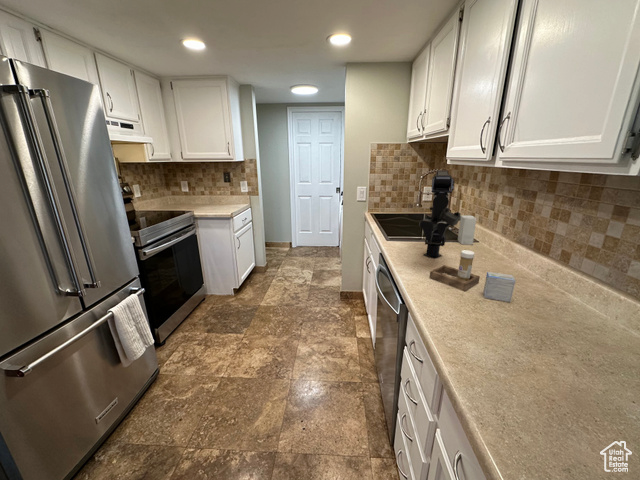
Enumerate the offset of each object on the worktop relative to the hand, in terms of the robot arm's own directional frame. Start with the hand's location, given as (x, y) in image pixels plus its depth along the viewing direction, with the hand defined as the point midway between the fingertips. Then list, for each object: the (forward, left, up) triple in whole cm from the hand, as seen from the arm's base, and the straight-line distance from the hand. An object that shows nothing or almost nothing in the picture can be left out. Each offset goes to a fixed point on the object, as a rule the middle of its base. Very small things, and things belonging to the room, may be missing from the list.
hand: (435, 240), depth 116 cm
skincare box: (-48, -8, -13) cm, 50 cm away
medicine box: (+7, +29, -13) cm, 33 cm away
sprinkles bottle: (+5, +16, -13) cm, 22 cm away
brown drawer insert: (+6, +13, -13) cm, 19 cm away
